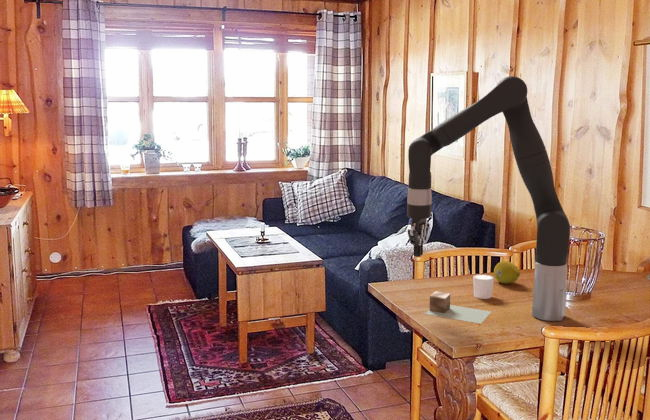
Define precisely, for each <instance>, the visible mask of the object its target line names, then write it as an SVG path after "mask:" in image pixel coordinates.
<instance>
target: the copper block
mask: <svg viewBox="0 0 650 420" xmlns="http://www.w3.org/2000/svg"><path fill="white" fill-rule="evenodd" d="M450 305H451V293H448V292H442V291H434V292H433V293H432V294H430V295H429V309H430V310H429V309H428V310H429V311H434V312H440V313H446V312H447V311H448V310H449V309H450Z"/></svg>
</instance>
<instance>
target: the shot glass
mask: <svg viewBox="0 0 650 420" xmlns="http://www.w3.org/2000/svg"><path fill="white" fill-rule="evenodd" d="M472 278H473V280H472V283H473V284H472V285H473V296H474V297H475V298H477V299H480V300H481V299H482V300H484V299H485V300H487V299H491V298H492V296H493V295H492V294H493V287H494V281H495V280H494V279H495V276H492V275H489V274H475V275H473V276H472Z"/></svg>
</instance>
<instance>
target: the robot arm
mask: <svg viewBox="0 0 650 420" xmlns="http://www.w3.org/2000/svg"><path fill="white" fill-rule="evenodd" d="M500 113H503V116H504V119H505V122H506V125H507V128H508V132H509V138H510V144H511V148H512V151H513V152H512V153H513V155H514V156H513V157H514V158H515V162H516V163H515V164H516V165H517V169H518V171H519V174H520V176H521V179H522V181H523V183H524V185H525V188H526V189H527V191H528V193H529V196H530V197H531V200H532V201H531V202H532V205H533V209H534V213H535V217H536V227H537V228H536V242H535V243H536V244H535V245H536V246H535V255H534V257H535V258H534V276H533V290H532V291H533V292H532V307H531V316H533V317H534V318H536V319H538V320H541V321H546V322H547V321H549V322H550V321H551V322H554V321H555V322H557V321H558V322H562V321H563V319H564V317H565V316H566V300H567V288H568V287H567V285H566V284H567V283H566V280H567V266H568V264H567V263H568V256H569V250H570V248H569V247H570V238H571V237H570V235H571V225H570V221H569V218H568V216H567V214H566V213H565V210H564V209H563V206H562V204H561V202H560V199H559V197H558V195H557V192H556V187H555V182H554V175H553V170H552V169H553V168H552V165H551V161H550V158H549V155H548V152H547V150H546V149H547V148H546V145H545V144H544V141H543V139H542V136H541V133H540V132H539V130H538V128H537V126H536V124H535V122H534V119H533V117H532V114H531V110H530V106H529V101H528V87H527V83H526V82H525V81H524V80H523V79H522V78H520V77H518V76H515V75H510V76H506V77H504V78H502V79H500V80H499V81H498V83H497V84H496V86H494V87H493V88H492V89H491V90H490V91H489V92H488V93H486V94H485V96H483V97H481V98H480V99H479V100H477V101H475V102H474V103H473V104H471V105H470V106H468V107H466V108H464V109H462V110H460V111H458V112H456V113H455V114H453V115H451V116H450V117H448V118H446V119H445V120H444V121H442V122H440V123H439V124H438V125H436V126H435V127H434V128H433V129H431V130H430V131H427V132H425V133H423V134H422V135H420V136H418V137H416V139H414V140H412V142H411V143H410V145H409V146H408V153H407V156H408V159H407V161H408V170H409V173H408V189H407V190H408V191H407V198H406V199H407V203H406V204H407V206H406V216H407V218H409V219H411V223H410V229H409V228H408V229H407V235H408V238H409V242H410V244H411V245H413V254H412V255H413V257H415V258H418V257H419V258H420V257H421V256H423V255H424V244H425V242H426V241H427V238H428V234H429V229H430V223H428V222H427V220H428V219H431V217H432V200H433V197H432V196H433V195H432V172H431V167H432V166H431V165H432V163H431V162H432V155H434V154H436V153H437V152H439V151H440V150H442V149H443V148H445V147H448V146H450V145H451V144H453V143H455V142H456V141H458V140H460V139H462V137H465V136H467V134H468V133H470V132H471V131H473V130H475V128H477V127H478V126H480V125H482V124H483V123H484V122H487V121H488V120H490V119H491V118H492V117H495V116H497V115H499V114H500Z"/></svg>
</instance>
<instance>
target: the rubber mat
mask: <svg viewBox="0 0 650 420" xmlns="http://www.w3.org/2000/svg"><path fill="white" fill-rule="evenodd" d="M429 310H430V308H429V309H428V310H427V311H426V312H424V313H423V314H424V315H428V316H434V317H439V318H440V317H441V318H446V319H450V320H457V321H463V322H469V323H473V324H482V323H483V322H484V321H485V320H486V319H487V318H488V317H489V315H491V313H492V311H490V310H485V309H484V310H483V309H477V308H471V307H465V306H458V305H454V304H450V309H449V310H448V311H447V312H446V313H440V312H434V311H429Z"/></svg>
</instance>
